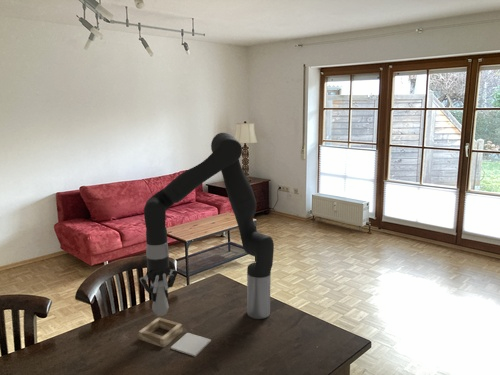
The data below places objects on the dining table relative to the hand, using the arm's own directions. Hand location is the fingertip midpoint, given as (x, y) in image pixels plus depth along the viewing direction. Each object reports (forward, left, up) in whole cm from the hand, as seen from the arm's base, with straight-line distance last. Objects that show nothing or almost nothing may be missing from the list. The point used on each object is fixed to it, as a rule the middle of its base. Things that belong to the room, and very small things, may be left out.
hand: (159, 300), depth 141 cm
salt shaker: (0, 0, -5) cm, 5 cm away
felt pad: (0, +13, -14) cm, 19 cm away
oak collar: (0, 0, -14) cm, 14 cm away
